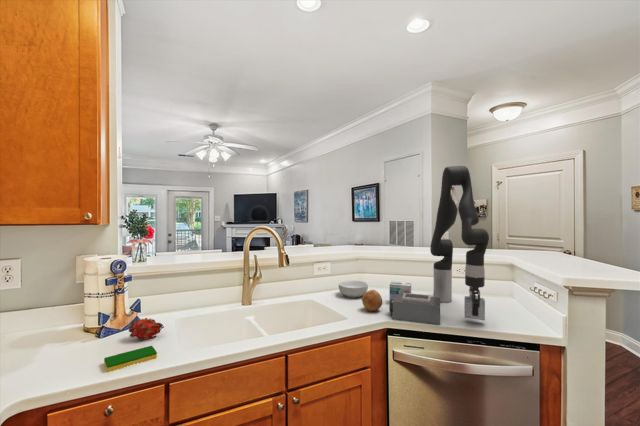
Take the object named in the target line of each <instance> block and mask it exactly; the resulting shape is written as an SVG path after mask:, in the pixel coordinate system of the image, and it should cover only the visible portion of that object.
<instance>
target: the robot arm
mask: <svg viewBox="0 0 640 426" xmlns="http://www.w3.org/2000/svg"><path fill="white" fill-rule="evenodd" d="M441 176H442V177H441V185H440V186H441V188H440V189H441V190H440V197H439V202H438V207H437V213H436V218H435V219H436V221H435V226H434V231H433V235H432V239H431V241H430V242H431V243H430V250H429V251H430V253H431V255H432V256H434V257H443V258H442V259H440V260H438V261H435V262H434V263H433V297H439V298H440V303H451V302H452V298H453V295H452V291H453V290H452V288H453V287H452V286H453V285H452V284H453V282H452V281H453V280H452V279H453V277H452V276H453V256H454V255H453V254H454V245H453V242H452V240H451V239H448V238H444V239H442V238H443V236H444V234H445V233H446V232H447V231H448V230H449V229H451V228H452V226H454V224H455V222H456V219H457V215H458V214H459V217H460V221H461V240H462V242H463V243H464V245H466V246H474V248H473V249H470V250H468V251H466V253H465V270H464V272H465V275H464V281H465V282H464V285H465V286H467V287H469V289H468V292H469V295H468V296H469V297H471V301H472V315H473V316H478V308H479V307H480V298H481V290H480V289H479V288H484V287H485V281H486V280H485V279H486V276H485V273H486V272H485V271H486V269H485V254H486V251H487V247H488V244H489V242H490V241H489V240H490V236H489V233H488V231H487V230H486V229H484V228H472V226H475V225H477V224H479V222H480V219H479V215H478V212H477V209H476V206H475V202H474V201H475V200H474V195H473V187H472V181H471V180H472V179H471V173H470V170H469V168H468V167H467V166H465V165H457V166H456V165H453V166H446V167H444V169H443V172H442V175H441ZM454 186H455V187H456V186H461V187H462V195H461V198H460V199H459V202H458V206H457V203H456V202H455V201H454V199H453V196H452V193H451V191H452V190H451V189H452V187H454ZM475 302H476V303H477V304H474V303H475Z"/></svg>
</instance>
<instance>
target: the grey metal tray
mask: <svg viewBox="0 0 640 426" xmlns="http://www.w3.org/2000/svg"><path fill="white" fill-rule="evenodd" d="M388 306H389V308H388V309H389V313H392V320H394V319H395V321H396V320H397V321H403V322H404V321H405V322H411V323H412V322H413V323H420V324H427V325H428V324H430V325H436V326H437V325H439V326H441V302H440V298H439V297H434V296H431V294H421V293H412V292H411V293H404V294H396V295H395V297H394V299H390V304H389V305H388Z"/></svg>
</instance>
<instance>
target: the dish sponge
mask: <svg viewBox="0 0 640 426" xmlns="http://www.w3.org/2000/svg"><path fill="white" fill-rule="evenodd" d="M157 358H158V352H157V350H156V348H155V347H154V346H153V345H149V346H148V345H147V346H145V347H141V348H137V349H133V350H129V351H126V352H122V353H118V354H113V355H110V356H107V357H104V358H103V359H104V360H103V361H104V362H103V364H104V368H105V370H106V372H107V373H110V371H111V372H114V370H115V371H117V369H118V370H122V369H125V368H127V366H128V367H131V366H130V365H132V366H134V365H133V364H135V365H138V364H137V363H139V364H141V362H142V363H145V362H149V361H151V360H155V359H157ZM148 360H149V361H148ZM124 367H125V368H124Z"/></svg>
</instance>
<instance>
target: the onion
mask: <svg viewBox="0 0 640 426" xmlns="http://www.w3.org/2000/svg"><path fill="white" fill-rule="evenodd" d="M361 297H362V298H361V301H362V306H363V307H364V308H365V309H366V310H367V311H369V312H375V311H378V310H379V309H380V308H381V307H382V305H383V298H382V296H381V294H380V293H379V291H377V290H375V289H370V290H367V292H366V293H365V294H363V295H362V296H361Z"/></svg>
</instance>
